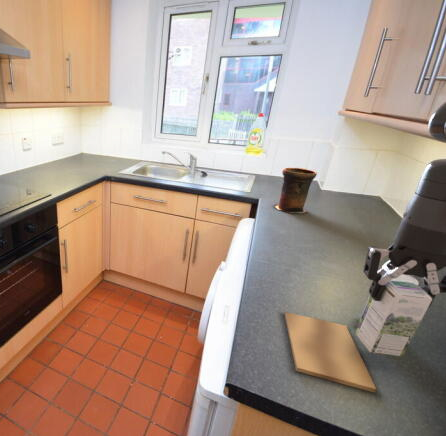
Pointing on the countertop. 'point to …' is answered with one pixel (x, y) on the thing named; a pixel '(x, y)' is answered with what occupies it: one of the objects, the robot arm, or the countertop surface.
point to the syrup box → (393, 318)
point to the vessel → (295, 189)
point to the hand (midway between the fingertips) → (396, 302)
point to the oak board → (326, 351)
